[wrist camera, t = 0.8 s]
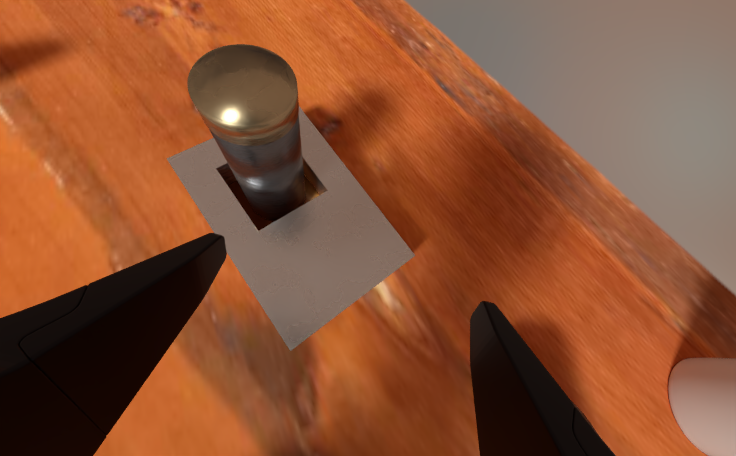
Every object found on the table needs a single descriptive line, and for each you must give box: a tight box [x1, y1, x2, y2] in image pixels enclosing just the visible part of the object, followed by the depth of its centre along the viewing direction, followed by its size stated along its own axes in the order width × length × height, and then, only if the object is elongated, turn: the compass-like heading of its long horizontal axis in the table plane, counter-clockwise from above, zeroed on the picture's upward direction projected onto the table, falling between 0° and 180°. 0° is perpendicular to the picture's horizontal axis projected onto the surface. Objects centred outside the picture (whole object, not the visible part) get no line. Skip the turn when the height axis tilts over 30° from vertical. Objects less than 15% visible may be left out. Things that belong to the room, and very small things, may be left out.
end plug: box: [188, 44, 306, 221], centre depth 20 cm, size 5×5×13 cm
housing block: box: [167, 107, 415, 351], centre depth 24 cm, size 12×18×3 cm, turn 37°
